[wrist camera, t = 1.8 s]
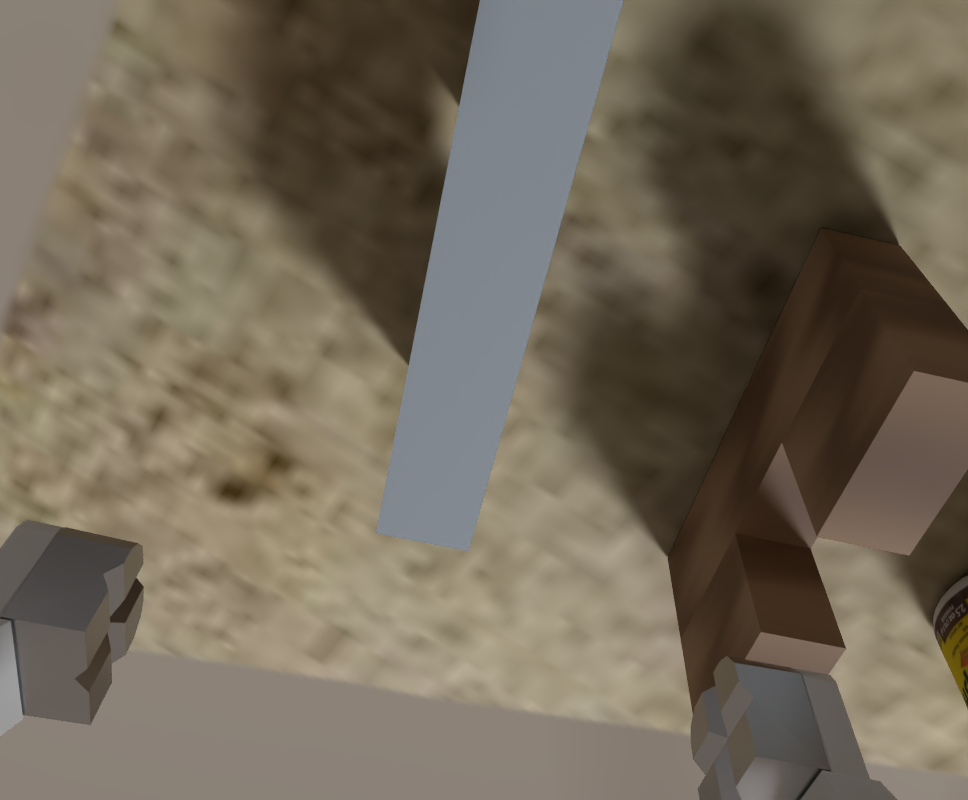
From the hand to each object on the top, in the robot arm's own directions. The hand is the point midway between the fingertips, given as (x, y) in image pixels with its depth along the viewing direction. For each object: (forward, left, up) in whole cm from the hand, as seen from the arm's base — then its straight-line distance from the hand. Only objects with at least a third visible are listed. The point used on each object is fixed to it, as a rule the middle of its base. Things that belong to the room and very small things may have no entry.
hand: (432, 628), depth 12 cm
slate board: (0, 0, -17) cm, 17 cm away
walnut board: (+6, +11, -17) cm, 21 cm away
